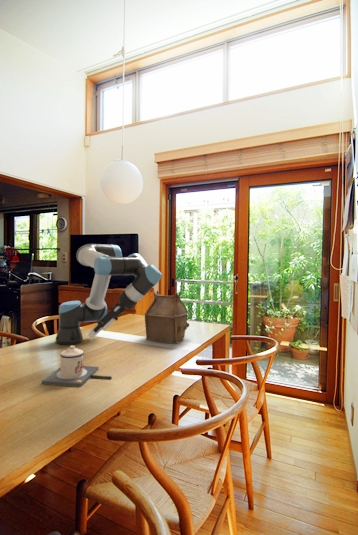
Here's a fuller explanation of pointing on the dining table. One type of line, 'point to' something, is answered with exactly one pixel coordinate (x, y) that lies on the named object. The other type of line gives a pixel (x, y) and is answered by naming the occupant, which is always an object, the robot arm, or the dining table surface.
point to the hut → (166, 319)
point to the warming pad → (77, 381)
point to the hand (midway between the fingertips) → (96, 332)
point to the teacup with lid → (71, 362)
